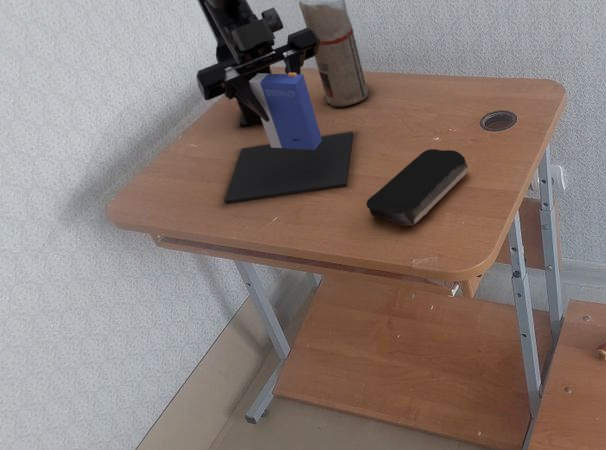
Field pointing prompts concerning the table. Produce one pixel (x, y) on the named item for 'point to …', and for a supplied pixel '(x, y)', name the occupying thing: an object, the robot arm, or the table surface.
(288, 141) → the walkman
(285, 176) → the mat
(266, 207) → the table surface
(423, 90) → the table surface
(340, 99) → the beige cylindrical container
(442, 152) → the black sponge
